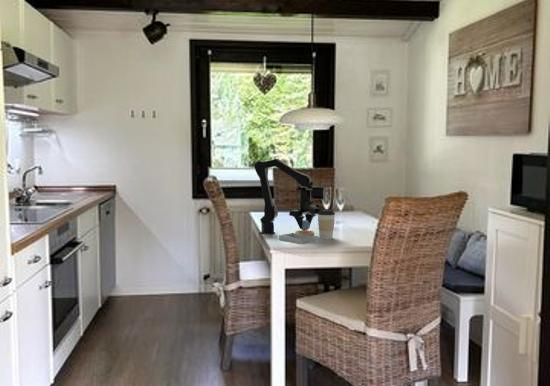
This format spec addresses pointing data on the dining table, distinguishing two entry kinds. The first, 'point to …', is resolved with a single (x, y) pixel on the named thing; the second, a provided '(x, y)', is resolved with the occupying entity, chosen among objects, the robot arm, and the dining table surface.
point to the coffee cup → (326, 223)
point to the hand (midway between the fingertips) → (304, 228)
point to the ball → (305, 225)
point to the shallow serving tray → (302, 238)
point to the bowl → (305, 232)
